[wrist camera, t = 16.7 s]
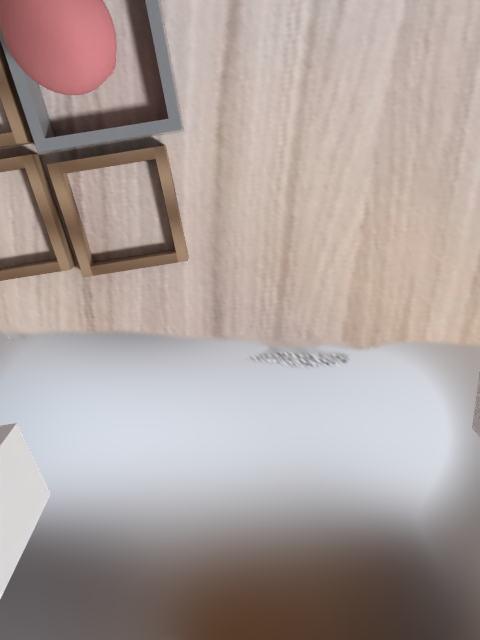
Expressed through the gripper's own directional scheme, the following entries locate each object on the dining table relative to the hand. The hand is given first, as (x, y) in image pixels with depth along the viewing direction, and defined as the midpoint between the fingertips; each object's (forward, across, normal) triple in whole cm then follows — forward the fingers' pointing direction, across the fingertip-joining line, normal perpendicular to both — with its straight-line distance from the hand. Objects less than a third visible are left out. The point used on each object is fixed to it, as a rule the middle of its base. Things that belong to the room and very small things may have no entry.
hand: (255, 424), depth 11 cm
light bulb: (+32, -9, +16) cm, 37 cm away
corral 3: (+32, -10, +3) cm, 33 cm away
